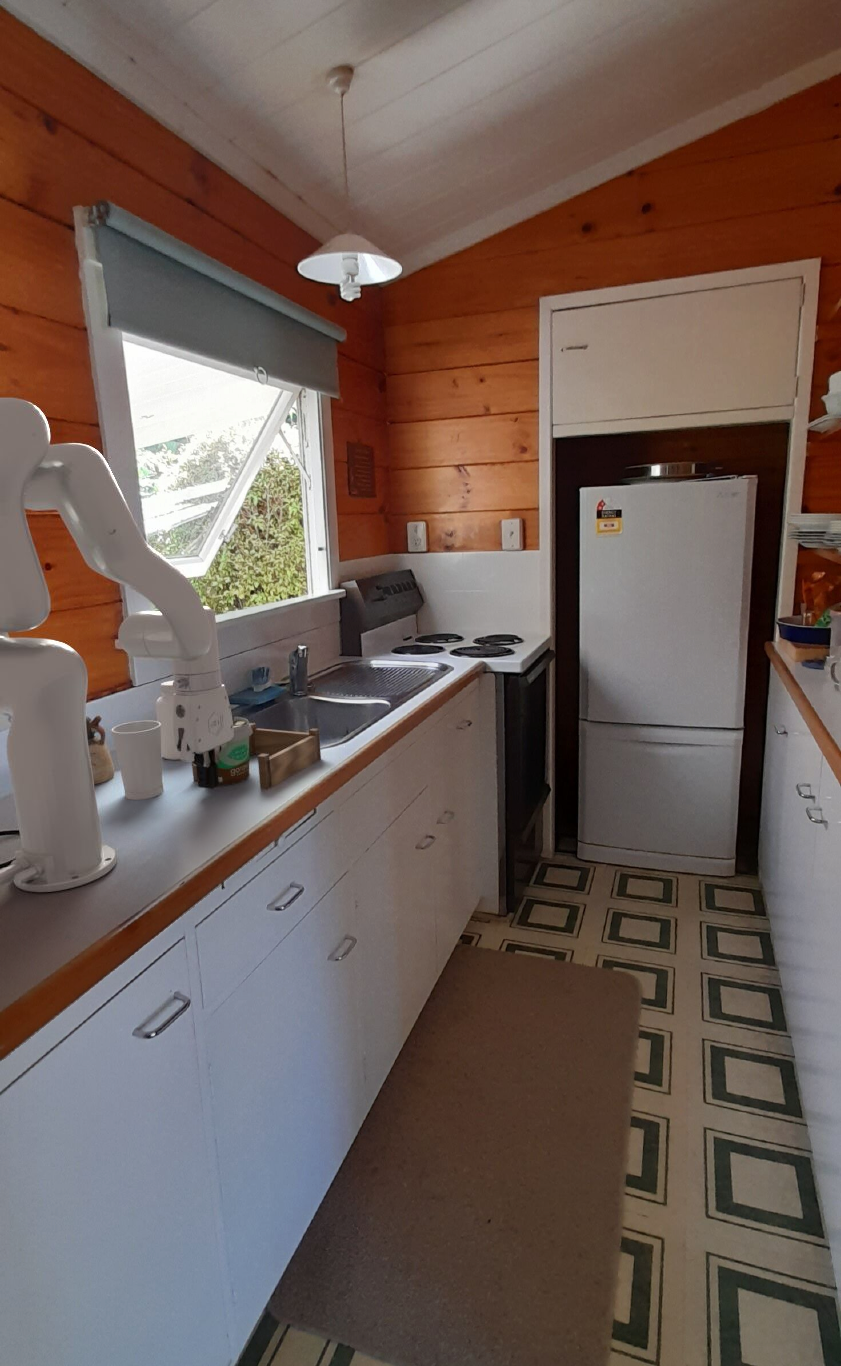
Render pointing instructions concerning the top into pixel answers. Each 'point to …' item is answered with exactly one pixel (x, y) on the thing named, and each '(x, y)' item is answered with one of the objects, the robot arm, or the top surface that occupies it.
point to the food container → (235, 754)
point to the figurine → (98, 752)
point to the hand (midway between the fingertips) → (208, 786)
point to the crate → (281, 753)
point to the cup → (139, 758)
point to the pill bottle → (167, 721)
